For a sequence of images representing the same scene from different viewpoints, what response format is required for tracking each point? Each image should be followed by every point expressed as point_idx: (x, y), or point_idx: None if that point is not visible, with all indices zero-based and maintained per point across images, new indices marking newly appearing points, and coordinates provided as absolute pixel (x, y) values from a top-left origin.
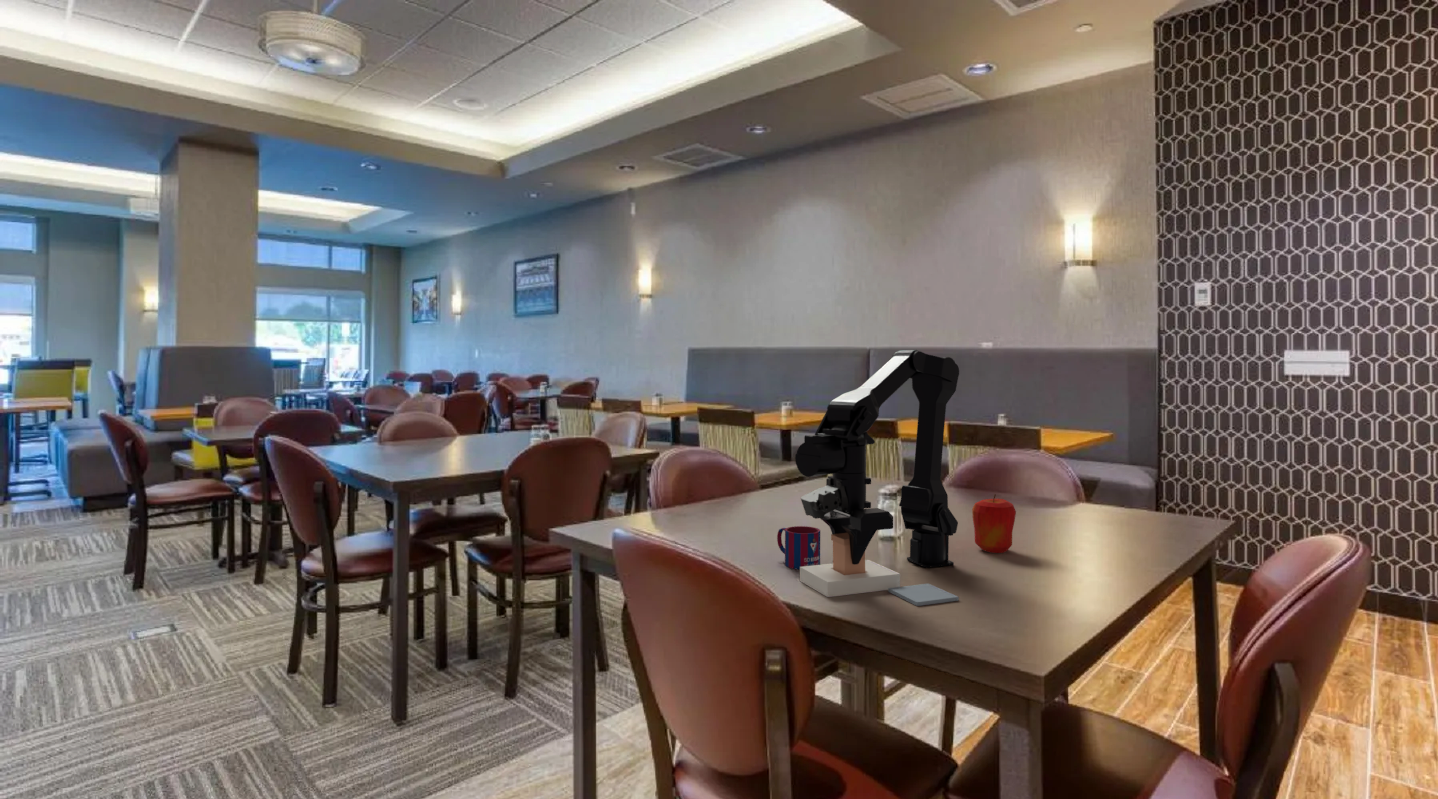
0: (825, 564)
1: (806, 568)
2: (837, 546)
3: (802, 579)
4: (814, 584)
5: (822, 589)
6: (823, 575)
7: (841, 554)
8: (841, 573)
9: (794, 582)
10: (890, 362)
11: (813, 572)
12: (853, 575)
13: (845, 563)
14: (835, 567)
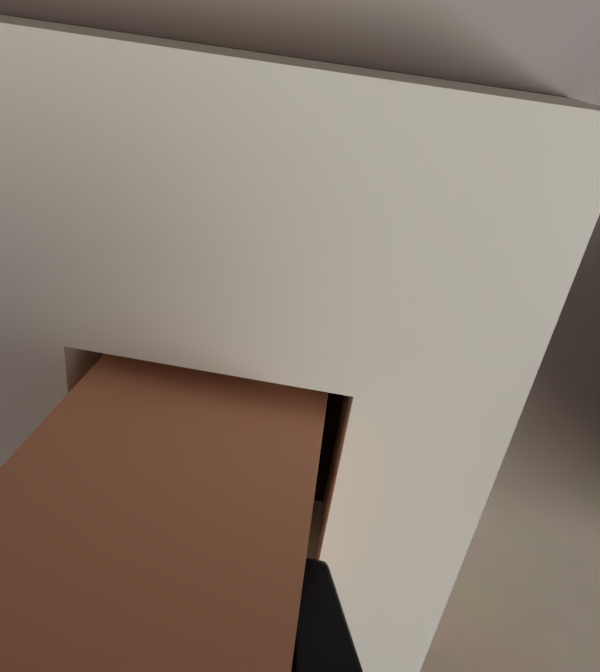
0: (493, 441)
1: (505, 150)
2: (125, 630)
3: (513, 91)
4: (217, 48)
5: (39, 22)
6: (121, 144)
7: (49, 522)
8: (160, 378)
9: (571, 2)
10: None
11: (288, 111)
12: (30, 407)
13: (31, 447)
14: (275, 417)
